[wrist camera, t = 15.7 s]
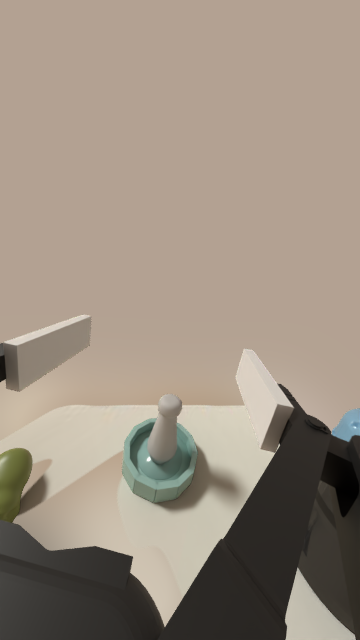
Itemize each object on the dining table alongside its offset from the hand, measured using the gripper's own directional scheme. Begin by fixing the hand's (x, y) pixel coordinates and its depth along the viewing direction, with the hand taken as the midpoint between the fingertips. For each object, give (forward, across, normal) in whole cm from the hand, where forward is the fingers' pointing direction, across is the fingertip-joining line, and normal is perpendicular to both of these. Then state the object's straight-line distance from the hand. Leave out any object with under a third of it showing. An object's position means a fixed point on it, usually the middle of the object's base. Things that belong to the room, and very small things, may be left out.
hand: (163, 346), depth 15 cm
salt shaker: (+14, +1, -29) cm, 32 cm away
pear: (+3, -19, -30) cm, 36 cm away
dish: (+14, +1, -30) cm, 33 cm away
